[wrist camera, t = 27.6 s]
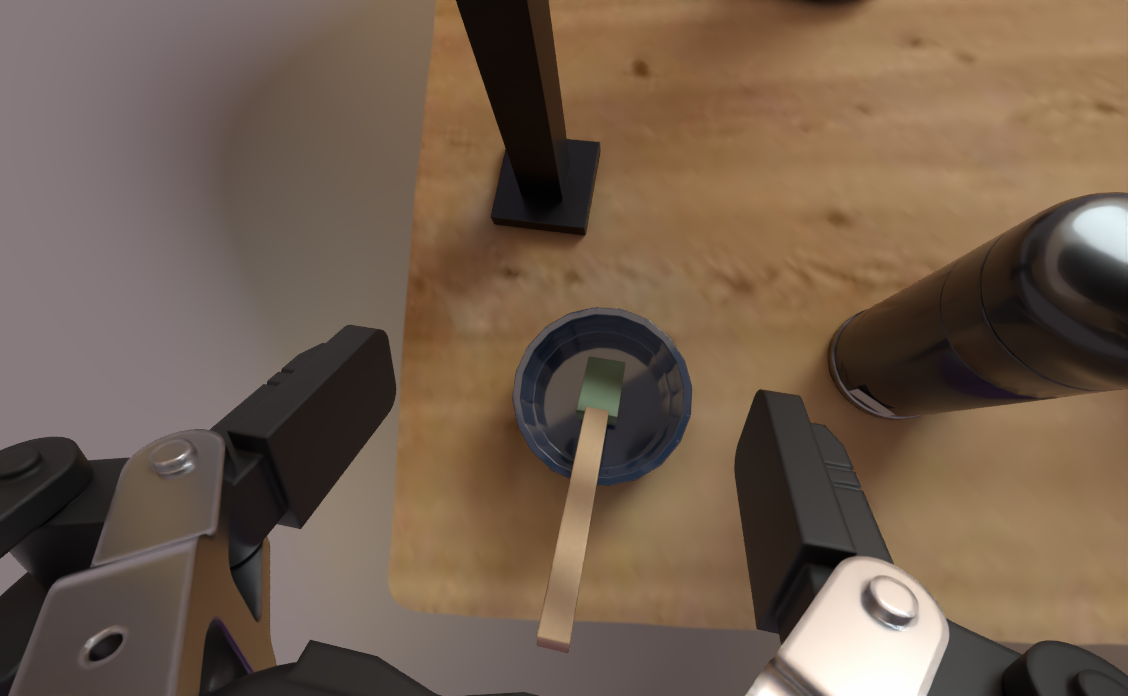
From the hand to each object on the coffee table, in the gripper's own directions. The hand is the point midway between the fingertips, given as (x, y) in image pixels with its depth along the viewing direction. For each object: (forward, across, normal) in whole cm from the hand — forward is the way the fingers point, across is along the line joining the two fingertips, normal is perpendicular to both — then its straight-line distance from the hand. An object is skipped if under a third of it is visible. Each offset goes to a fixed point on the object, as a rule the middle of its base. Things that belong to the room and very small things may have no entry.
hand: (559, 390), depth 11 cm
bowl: (+25, 0, +20) cm, 32 cm away
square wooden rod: (+16, 0, +20) cm, 25 cm away
